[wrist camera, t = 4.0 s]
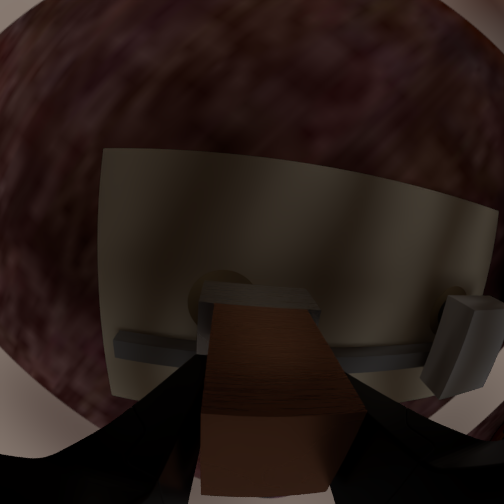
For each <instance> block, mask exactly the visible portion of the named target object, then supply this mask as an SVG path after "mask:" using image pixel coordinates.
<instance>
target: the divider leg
mask: <svg viewBox="0 0 504 504" xmlns="http://www.w3.org/2000/svg"><path fill="white" fill-rule="evenodd" d="M320 315H321V309H320V308H319V306H318V305H317V303H316V302H315V301H314V299H313V298H312V296H311V295H310V294H309V292H308V291H307V289H305V288H291V287H277V286H264V285H252V284H240V283H228V282H217V281H206V280H204V284H203V287H202V291H201V295H200V298H199V303H198V325H197V352H196V354H201V355H207V363H206V372H205V380H204V389H203V397H202V407H201V444H200V450H201V495H210V496H228V497H271V496H289V495H301V494H310V493H318V492H325V491H326V490H327V489H328V487H329V485H330V484H331V482H332V480H333V479H334V477H335V475H336V473H337V472H338V470H339V468H340V466H341V464H342V462H343V461H344V459H345V457H346V455H347V453H348V451H349V449H350V447H351V445H352V443H353V441H354V439H355V437H356V435H357V433H358V431H359V428H360V426H361V424H362V422H363V420H364V418H365V415H366V413H367V409H366V408H365V406H364V404H363V402H362V401H361V399H360V397H359V396H358V394H357V392H356V391H355V389H354V387H353V385H352V384H351V382H350V380H349V379H348V377H347V375H346V374H345V372H344V370H343V369H342V367H341V365H340V363H339V362H338V360H337V358H336V357H335V355H334V353H333V352H332V350H331V348H330V347H329V345H328V343H327V342H326V340H325V338H324V337H323V335H322V333H321V332H320V330H319V328H318V324H319V319H320Z"/></svg>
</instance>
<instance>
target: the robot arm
mask: <svg viewBox="0 0 504 504" xmlns="http://www.w3.org/2000/svg"><path fill="white" fill-rule="evenodd" d="M501 302H503V303H504V293H503V297H502V300H501ZM206 363H207V355H201V354H195V355H194V356H193V357H191V358H190V359H189V360H188V361H187V362H185V363H184V364H183V365H182V366H181V367H179V368H178V369H177V370H176V371H175V372H173V373H172V374H171V375H170V376H169V377H167V378H166V379H165V380H164V381H163V382H161V383H160V384H159V385H158V386H157V387H155V388H154V389H153V390H152V391H150V392H149V393H148V394H147V395H146V396H144V397H143V398H142V399H141V400H139V401H138V402H137V403H136V404H134V405H133V406H132V408H129V409H128V410H127V411H125V412H124V413H123V414H122V415H120V416H119V417H117V418H116V419H115V420H113V421H112V422H111V423H109V424H107V425H106V426H104V427H103V428H101V429H99V430H98V431H96V432H94V433H93V434H91V435H89V436H87V437H86V438H84V439H82V440H80V441H78V442H77V443H75V444H73V445H71V446H69V447H67V448H65V449H63V450H62V451H60V452H58V453H56V454H53V455H50V456H47V457H43V458H23V457H15V456H8V455H2V454H0V504H188V500H189V496H190V492H191V486H192V482H193V478H194V473H195V469H196V464H197V460H198V455H199V451H200V444H201V407H202V397H203V389H204V380H205V372H206ZM345 374H346V375H347V377H348V379H349V380H350V382H351V384H352V385H353V387H354V389H355V391H356V392H357V394H358V396H359V397H360V399H361V401H362V402H363V404H364V406H365V408H366V409H367V413H366V415H365V418H364V420H363V422H362V424H361V426H360V428H359V431H358V433H357V435H356V437H355V439H354V441H353V443H352V445H351V447H350V449H349V451H348V453H347V455H346V457H345V459H344V461H343V462H342V464H341V466H340V468H339V470H338V472H337V473H336V475H335V477H334V479H333V480H332V482H331V484H330V487H331V491H332V494H333V497H334V501H335V504H504V439H503V440H499V441H483V440H479V439H476V438H473V437H471V436H468V435H465V434H463V433H460V432H458V431H455V430H453V429H450V428H448V427H446V426H443V425H441V424H439V423H436V422H434V421H432V420H430V419H428V418H426V417H424V416H422V415H420V414H418V413H416V412H414V411H412V410H411V409H409V408H407V409H406V407H405V406H403V405H401V404H400V403H398V402H396V401H394V400H393V399H391V398H389V397H387V396H385V395H384V394H382V393H380V392H378V391H377V390H375V389H373V388H372V387H370V386H368V385H366V384H365V383H363V382H361V381H360V380H358V379H356V378H355V377H353V376H351V375H349V374H348V373H346V372H345Z"/></svg>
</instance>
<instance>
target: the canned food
mask: <svg viewBox="0 0 504 504" xmlns="http://www.w3.org/2000/svg"><path fill="white" fill-rule="evenodd" d="M503 439H504V423H503V424H502V425H501V427H500V428H499V429H498V430H497V432H496V433H495V435H494V436H493V438H492V440H491V441H499V440H503Z"/></svg>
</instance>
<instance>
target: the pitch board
mask: <svg viewBox="0 0 504 504" xmlns="http://www.w3.org/2000/svg"><path fill="white" fill-rule="evenodd" d="M498 214H499V211H497V210H494V209H491V208H488V207H485V206H482V205H479V204H476V203H473V202H470V201H467V200H464V199H460V198H457V197H454V196H450V195H447V194H444V193H440V192H437V191H433V190H429V189H426V188H422V187H418V186H414V185H410V184H406V183H402V182H398V181H394V180H390V179H385V178H381V177H376V176H372V175H367V174H362V173H357V172H352V171H347V170H342V169H336V168H331V167H325V166H319V165H313V164H307V163H301V162H294V161H287V160H280V159H273V158H265V157H256V156H248V155H238V154H228V153H217V152H204V151H189V150H171V149H142V148H103V157H102V166H101V177H100V189H99V206H98V285H99V301H100V314H101V325H102V334H103V342H104V350H105V357H106V364H107V370H108V376H109V382H110V387H111V393H112V395H114V396H119V397H123V398H128V399H134V400H141V399H142V398H143V397H144V396H146V395H147V394H148V393H149V392H150V391H152V390H153V389H154V388H155V387H157V386H158V385H159V384H160V383H161V382H163V381H164V380H165V379H166V378H167V377H169V376H170V375H171V374H172V373H173V372H175V371H176V370H177V369H178V368H179V367H181V366H182V365H183V364H184V363H185V362H187V361H188V360H189V359H190V358H191V357H193V356H194V355H195V354H196V352H197V325H198V303H199V298H200V295H201V291H202V287H203V284H204V280H206V281H217V282H228V283H240V284H252V285H264V286H277V287H291V288H305V289H307V291H308V292H309V294H310V295H311V296H312V298H313V299H314V301H315V302H316V303H317V305H318V306H319V308H320V309H321V315H320V319H319V324H318V328H319V330H320V332H321V333H322V335H323V337H324V338H325V340H326V342H327V343H328V345H329V347H330V348H331V350H332V352H333V353H334V355H335V357H336V358H337V360H338V362H339V363H340V365H341V367H342V369H343V370H344V372H346V373H348V374H349V375H351V376H353V377H355V378H356V379H358V380H360V381H361V382H363V383H365V384H366V385H368V386H370V387H372V388H373V389H375V390H377V391H378V392H380V393H382V394H384V395H385V396H387V397H389V398H391V399H393V400H394V401H396V402H398V403H399V402H405V401H410V400H415V399H420V398H425V397H430V396H434V395H435V396H436V397H437V398H438V399H443V398H447V397H451V396H455V395H458V394H461V393H465V392H469V391H472V390H475V389H478V388H481V387H483V386H484V384H485V382H486V379H487V377H488V375H489V373H490V371H491V369H492V367H493V364H494V362H495V359H496V357H497V355H498V353H499V350H500V348H501V345H502V343H503V340H504V303H503V302H501V301H499V300H498V299H496V298H494V297H492V296H482V295H483V291H484V288H485V284H486V280H487V276H488V271H489V267H490V262H491V257H492V252H493V247H494V241H495V235H496V229H497V222H498Z"/></svg>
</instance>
